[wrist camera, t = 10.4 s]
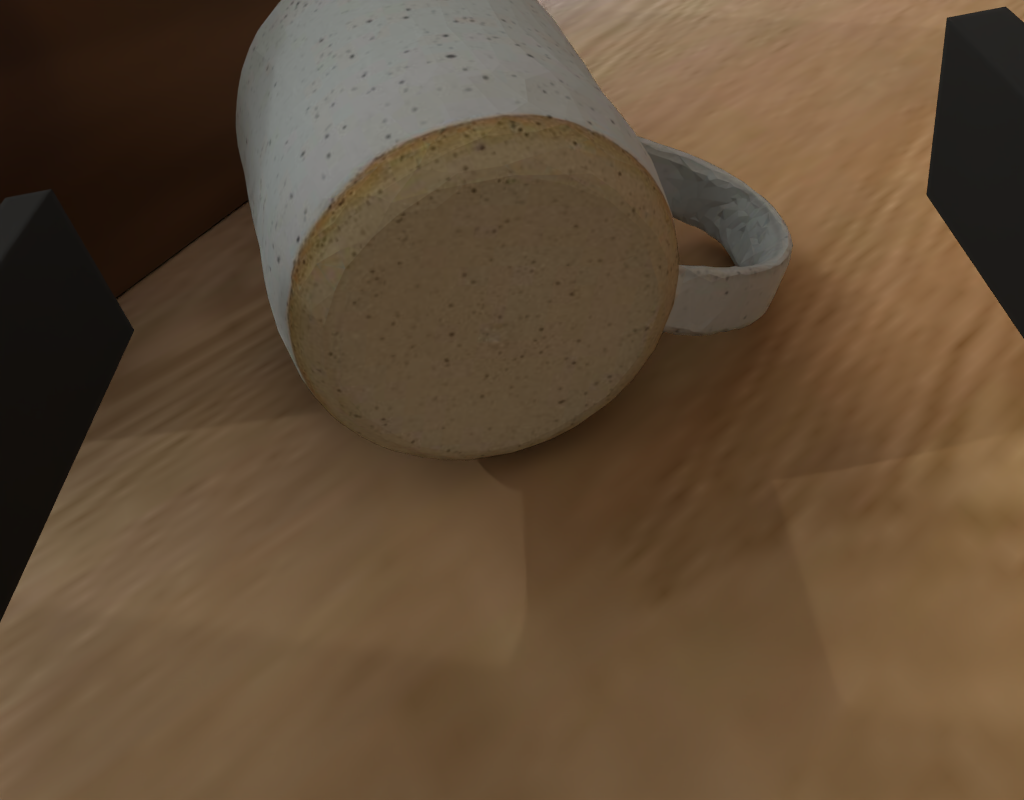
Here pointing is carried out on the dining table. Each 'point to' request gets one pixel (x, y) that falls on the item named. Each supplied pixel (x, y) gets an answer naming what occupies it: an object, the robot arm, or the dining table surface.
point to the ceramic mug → (474, 223)
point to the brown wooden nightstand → (126, 119)
